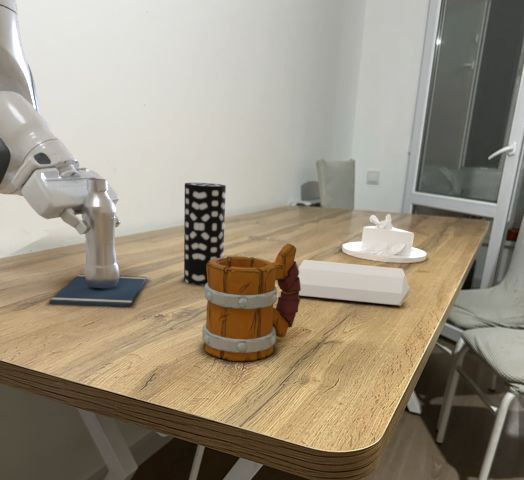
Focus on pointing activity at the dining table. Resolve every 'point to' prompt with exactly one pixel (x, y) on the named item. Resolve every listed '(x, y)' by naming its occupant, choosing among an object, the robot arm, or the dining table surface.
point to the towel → (100, 292)
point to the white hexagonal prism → (353, 282)
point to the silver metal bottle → (100, 236)
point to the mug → (249, 304)
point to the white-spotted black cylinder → (202, 229)
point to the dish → (385, 244)
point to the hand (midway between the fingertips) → (102, 228)
